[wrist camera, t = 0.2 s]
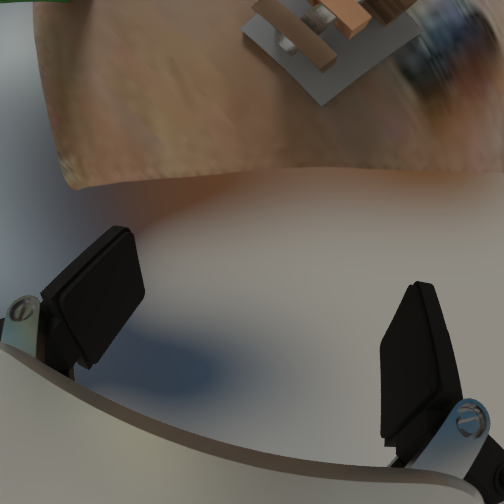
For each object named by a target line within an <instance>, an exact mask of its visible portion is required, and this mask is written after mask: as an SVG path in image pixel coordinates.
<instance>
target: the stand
mask: <svg viewBox="0 0 504 504" xmlns="http://www.w3.org/2000/svg"><path fill="white" fill-rule="evenodd" d="M416 1H417V0H366V1H365V2H363V3H362V4H361V5H362V6H363V7H364V8H365V9H366V10H367V11H368V12H369V13H370V14H371V15H372V16H373V17H374V18H375V19H376V20H377V21H378V22H379V23H380V24H381V25H382V26H383V27H385V26H387V25H388V24H390V23H391V22H393V21H394V20H396V19H397V18H398V17H399V16H400V15H401V14H402V13H403V12H405V11H406V10H407V9H408V8H409V7H410V6H411V5H413V4H414V3H415V2H416ZM251 8H252V9H253V10H254V11H256V12H257V13H258V14H259V15H260V16H262V17H263V18H264V19H265V20H266V21H267V22H269V23H270V24H271V25H272V26H273V27H274V28H275V29H276V30H278V31H279V32H280V33H282V34H283V35H284V36H285V37H286V38H287V39H289V40H290V41H291V42H292V43H293V44H294V45H295V46H296V47H297V48H298V49H299V50H300V51H301V52H302V53H303V54H304V55H305V56H306V57H307V58H308V59H309V60H310V61H311V62H312V63H313V64H314V65H315V66H316V67H317V68H318V69H319V70H320V71H321V72H322V73H324V72H325V71H326V70H328V69H329V68H330V67H331V66H333V65H334V64H335V62H336V59H337V54H336V53H335V52H334V51H333V50H332V49H331V48H330V47H329V46H328V45H327V44H326V43H325V42H324V41H323V40H322V39H321V38H320V37H319V36H318V35H317V34H316V33H315V32H313V31H312V30H311V29H310V28H309V27H308V26H307V25H306V24H305V23H304V22H302V21H301V20H300V19H299V18H298V17H297V16H295V15H294V14H293V13H292V12H291V11H290V10H288V9H287V8H286V7H285V6H283V5H282V4H281V3H280V2H278V1H277V0H259V1H258V2H257V3H255V4H254V5H253V6H252V7H251Z"/></svg>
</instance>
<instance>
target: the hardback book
mask: <svg viewBox="0 0 504 504" xmlns="http://www.w3.org/2000/svg"><path fill="white" fill-rule="evenodd" d="M35 1H48V2H69V1H70V0H0V3H10V2H35Z"/></svg>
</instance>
